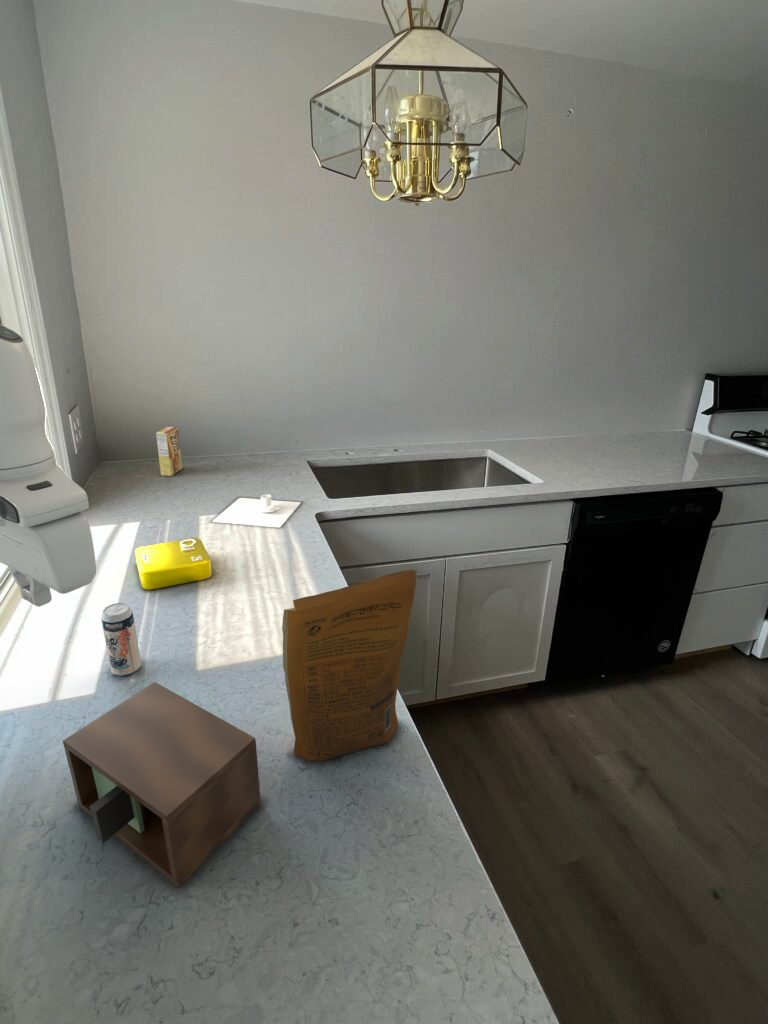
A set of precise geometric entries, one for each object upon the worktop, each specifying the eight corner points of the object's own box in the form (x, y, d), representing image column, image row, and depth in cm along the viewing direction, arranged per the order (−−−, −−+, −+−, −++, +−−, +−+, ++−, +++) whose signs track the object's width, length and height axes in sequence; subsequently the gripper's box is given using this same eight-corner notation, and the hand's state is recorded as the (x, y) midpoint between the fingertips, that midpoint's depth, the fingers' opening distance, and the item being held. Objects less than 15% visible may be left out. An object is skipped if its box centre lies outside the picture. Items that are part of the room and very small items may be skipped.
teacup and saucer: (274, 515, 162) (273, 502, 160) (248, 513, 163) (247, 500, 162) (284, 505, 170) (283, 492, 169) (259, 503, 171) (258, 490, 170)
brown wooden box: (178, 888, 62) (166, 816, 58) (78, 807, 71) (62, 740, 67) (260, 803, 72) (255, 737, 68) (164, 742, 81) (154, 681, 77)
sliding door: (109, 860, 63) (97, 805, 60) (68, 825, 67) (54, 772, 64) (145, 830, 67) (134, 776, 64) (103, 798, 71) (92, 746, 68)
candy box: (171, 468, 201) (166, 426, 196) (183, 468, 201) (178, 427, 195) (160, 475, 193) (155, 432, 188) (172, 476, 193) (167, 433, 187)
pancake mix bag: (418, 744, 82) (429, 576, 72) (291, 781, 75) (282, 602, 65) (400, 713, 88) (407, 554, 77) (280, 745, 81) (271, 576, 71)
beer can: (105, 674, 95) (93, 614, 90) (123, 658, 99) (113, 599, 95) (129, 679, 94) (118, 618, 89) (147, 662, 98) (137, 603, 94)
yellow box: (136, 563, 133) (133, 545, 131) (201, 551, 139) (199, 534, 137) (143, 592, 120) (139, 572, 119) (213, 578, 127) (211, 559, 125)
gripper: (-71, 473, 60) (-39, 585, 65) (32, 516, 50) (60, 644, 55) (-7, 460, 65) (18, 565, 70) (97, 497, 55) (117, 616, 60)
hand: (37, 600), depth 63 cm, fingers closed
